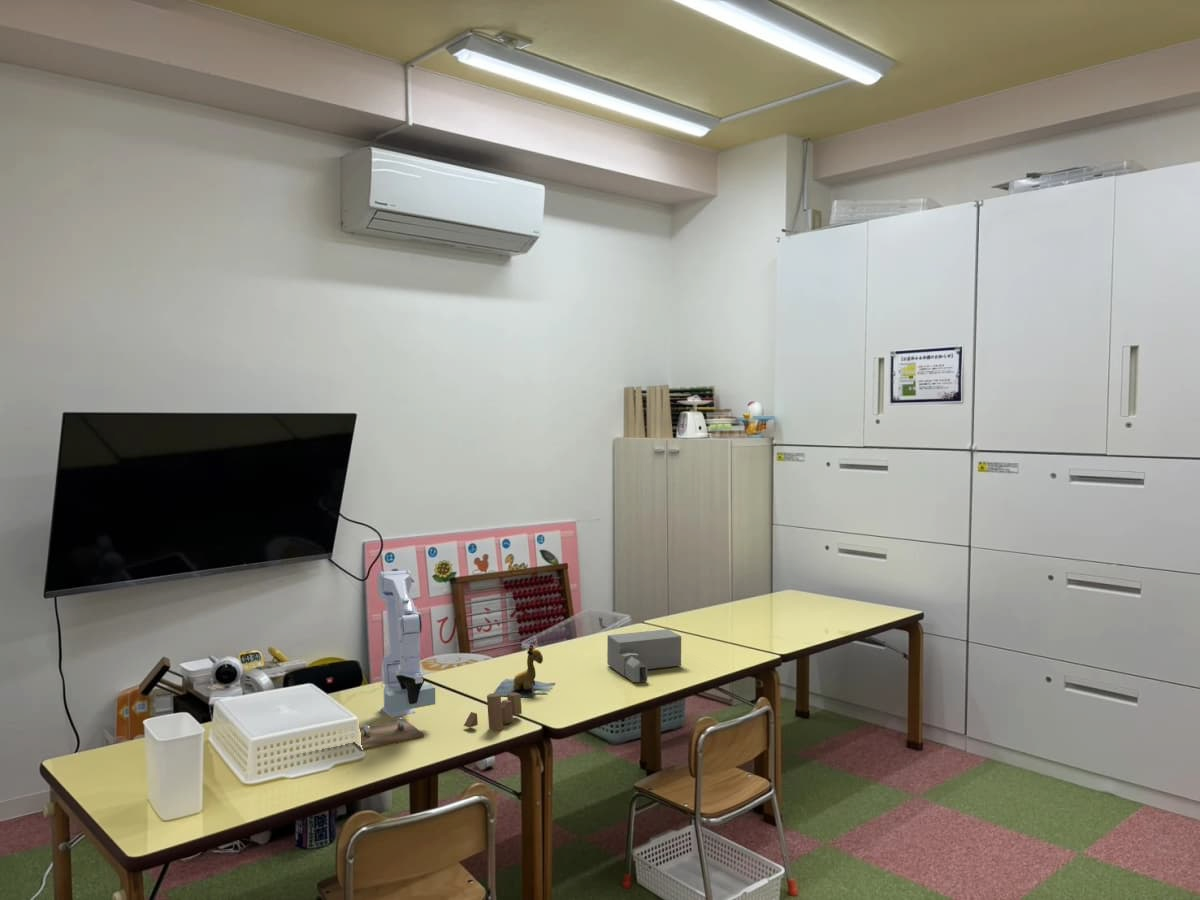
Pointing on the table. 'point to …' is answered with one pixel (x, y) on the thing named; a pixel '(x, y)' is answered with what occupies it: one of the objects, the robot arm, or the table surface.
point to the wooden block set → (498, 711)
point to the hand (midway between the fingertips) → (410, 701)
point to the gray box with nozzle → (643, 652)
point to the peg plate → (388, 733)
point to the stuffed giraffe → (526, 679)
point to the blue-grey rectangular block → (400, 701)
